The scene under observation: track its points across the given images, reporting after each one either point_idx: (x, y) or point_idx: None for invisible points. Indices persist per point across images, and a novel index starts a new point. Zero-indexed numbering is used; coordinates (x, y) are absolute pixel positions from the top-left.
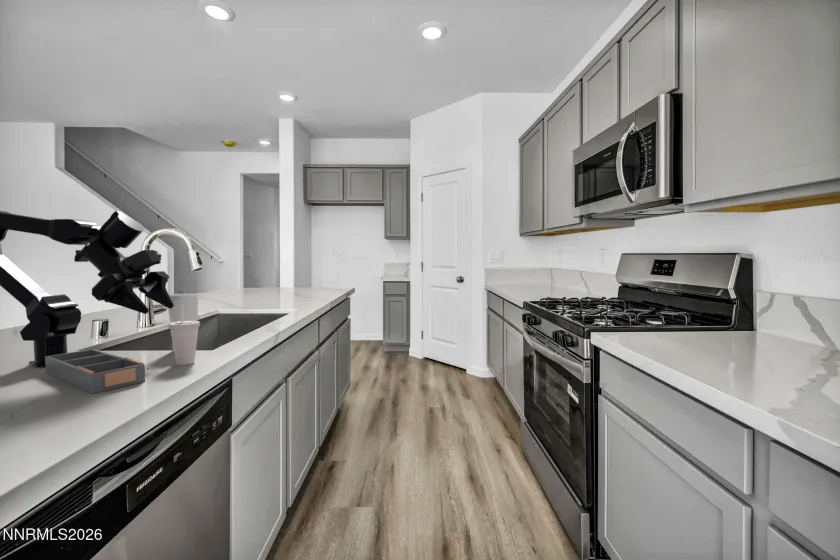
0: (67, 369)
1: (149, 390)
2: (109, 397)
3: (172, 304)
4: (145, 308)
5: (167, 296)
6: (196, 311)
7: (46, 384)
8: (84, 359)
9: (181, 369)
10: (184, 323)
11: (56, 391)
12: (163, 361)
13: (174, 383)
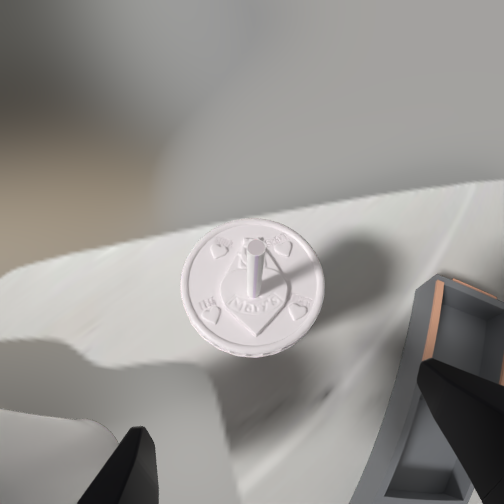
0: None
1: (442, 233)
2: (484, 270)
3: (141, 431)
4: (445, 365)
5: (115, 490)
6: None
7: None
8: (428, 498)
9: None
10: (275, 261)
11: None
12: (243, 416)
13: (399, 219)
